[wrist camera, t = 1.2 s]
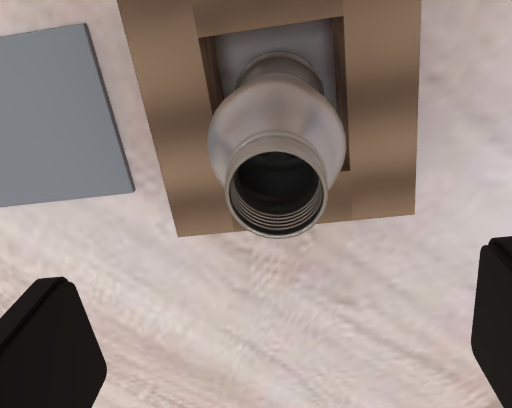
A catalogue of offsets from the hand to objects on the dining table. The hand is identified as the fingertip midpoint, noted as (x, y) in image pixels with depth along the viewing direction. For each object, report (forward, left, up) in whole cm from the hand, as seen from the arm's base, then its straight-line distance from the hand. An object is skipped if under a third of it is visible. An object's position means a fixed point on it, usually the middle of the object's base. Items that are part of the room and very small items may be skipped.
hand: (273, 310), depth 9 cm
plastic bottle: (0, 0, -26) cm, 26 cm away
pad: (0, -21, -26) cm, 33 cm away
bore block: (0, 0, -26) cm, 26 cm away
